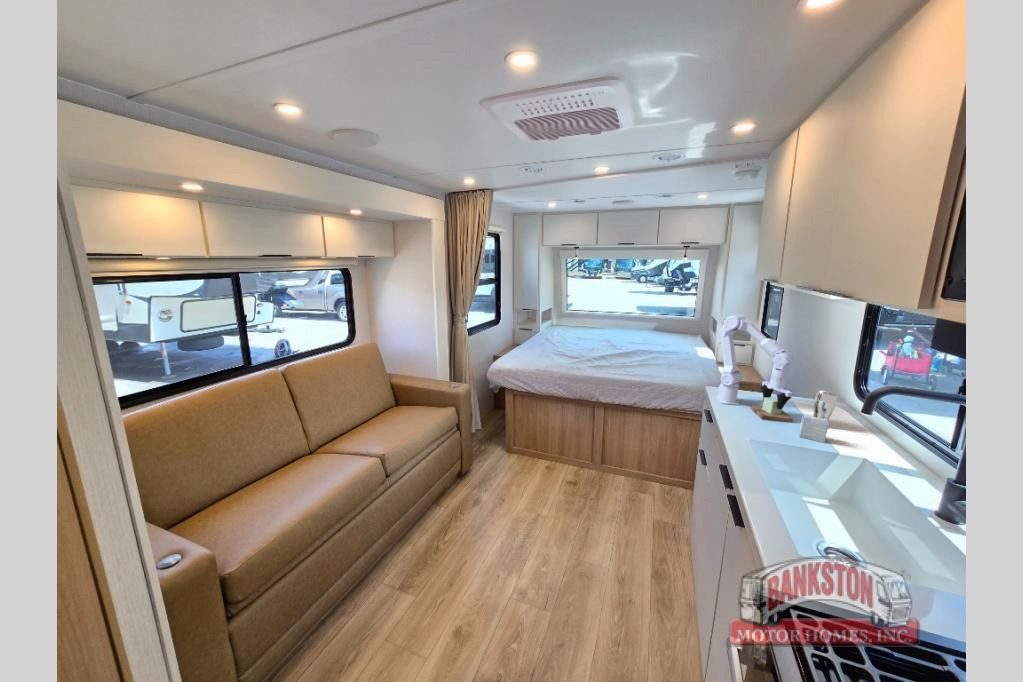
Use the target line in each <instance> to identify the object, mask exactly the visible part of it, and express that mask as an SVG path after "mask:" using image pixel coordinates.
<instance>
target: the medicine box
mask: <svg viewBox="0 0 1023 682" xmlns="http://www.w3.org/2000/svg"><path fill="white" fill-rule="evenodd" d="M829 425H830V422H829V423H828V421H827V419H822V418H817V417H813V416H812V415H807V414H802V416H801V421H800V425H799V430H798V436H799V438H801V437H803V439H806V438H807V440H810V439H811V440H810V441H814V440H815V441H816V442H820V443H823V444H824V443H825V441H826V437H827V433H828V428H829V427H830V426H829ZM815 441H814V442H815Z"/></svg>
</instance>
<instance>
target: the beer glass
mask: <svg viewBox="0 0 1023 682" xmlns="http://www.w3.org/2000/svg"><path fill="white" fill-rule="evenodd" d="M837 399H838V394H837V393H834V392H833V391H829V390H822V389H819V390H817V391H816V394H815V397H814V402H813V417H817V418H822V419H827V421H828V423H829V424H830V421H829V420H830V418H831V415H832V414H833V412H834V410H835V408H836V404H837Z"/></svg>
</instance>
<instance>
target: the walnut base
mask: <svg viewBox="0 0 1023 682" xmlns="http://www.w3.org/2000/svg"><path fill="white" fill-rule="evenodd" d="M762 407H763V405H753V404H751V407H750V410H751V411H752V412H753V413H754V414H755V415H757V416H758V417H759V418H760V419H761V420H763V421H772V422H779V423H780V422H781V423H789V422H790V423H792V424H793V421H794V418H793V417H792V416H791V415H790V414H788V413H787V412H786V411H785V410H783V409H782V410H781V414H770V413H768V412H766V411H764V410H762Z"/></svg>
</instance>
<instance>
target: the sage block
mask: <svg viewBox="0 0 1023 682" xmlns="http://www.w3.org/2000/svg"><path fill="white" fill-rule="evenodd" d="M762 406H763V407H762V410H764V411H766V412H768V413H770V414H781V410H783V408H782V409H777V397H772V396H771V397H764V399H763V403H762Z"/></svg>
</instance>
